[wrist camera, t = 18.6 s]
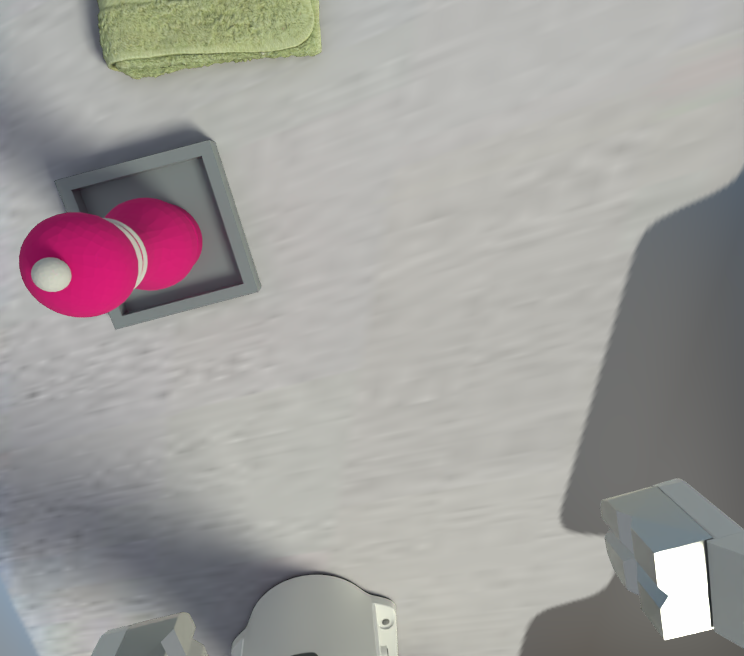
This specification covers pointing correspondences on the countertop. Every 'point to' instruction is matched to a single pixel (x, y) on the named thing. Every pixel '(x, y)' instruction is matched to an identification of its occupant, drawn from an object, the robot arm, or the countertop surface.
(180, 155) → the slate tray
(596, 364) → the countertop surface
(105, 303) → the pepper mill
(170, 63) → the washcloth
